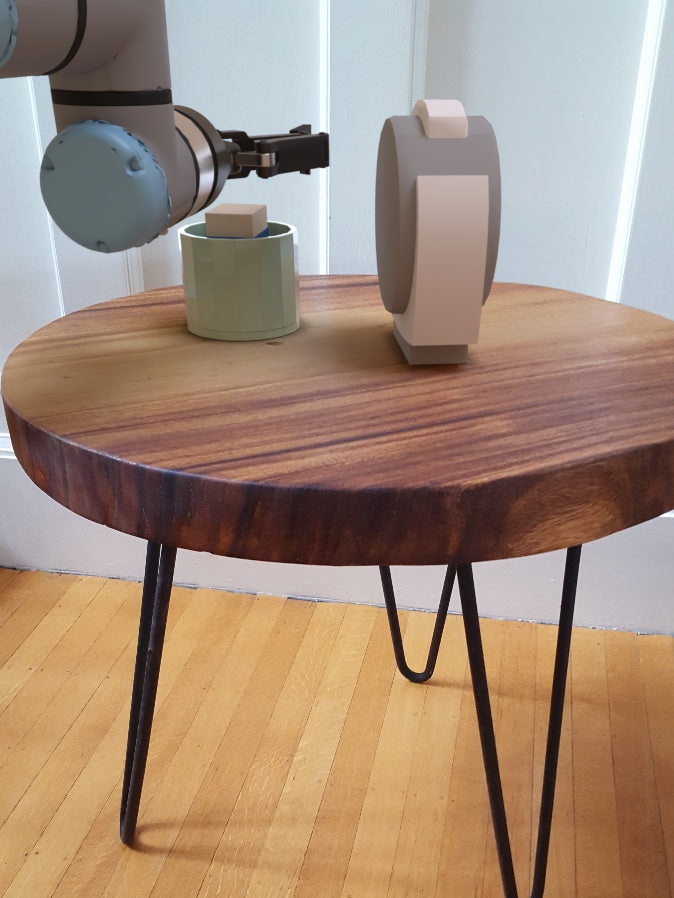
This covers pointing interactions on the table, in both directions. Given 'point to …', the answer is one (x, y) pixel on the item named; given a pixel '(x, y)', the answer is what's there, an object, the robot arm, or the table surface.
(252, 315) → the cup
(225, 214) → the eraser
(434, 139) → the alarm clock
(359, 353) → the table surface
